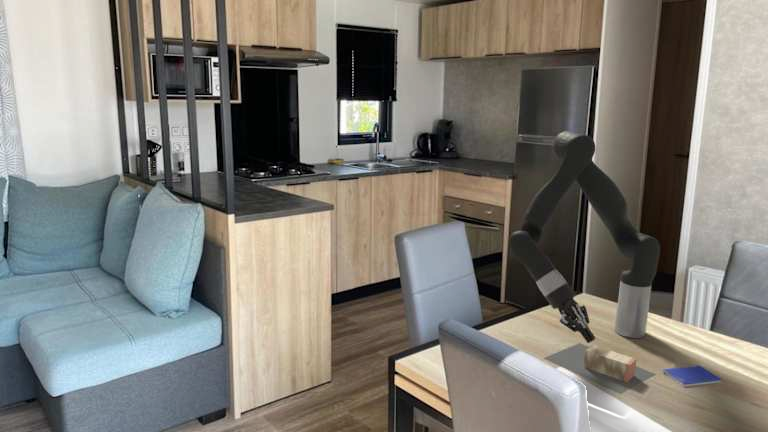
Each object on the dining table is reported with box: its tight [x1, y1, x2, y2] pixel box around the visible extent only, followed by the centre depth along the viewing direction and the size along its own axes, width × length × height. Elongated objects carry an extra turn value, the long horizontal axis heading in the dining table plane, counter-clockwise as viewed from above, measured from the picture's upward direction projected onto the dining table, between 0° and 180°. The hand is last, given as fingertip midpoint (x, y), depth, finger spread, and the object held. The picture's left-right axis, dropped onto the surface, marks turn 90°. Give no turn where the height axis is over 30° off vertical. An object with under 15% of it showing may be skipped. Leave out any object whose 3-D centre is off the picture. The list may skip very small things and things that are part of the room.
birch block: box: [584, 344, 637, 382], centre depth 156 cm, size 5×5×12 cm
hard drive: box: [661, 365, 722, 387], centre depth 156 cm, size 2×8×12 cm
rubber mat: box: [543, 342, 656, 394], centre depth 160 cm, size 18×24×1 cm
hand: (591, 340), depth 159 cm, fingers closed
